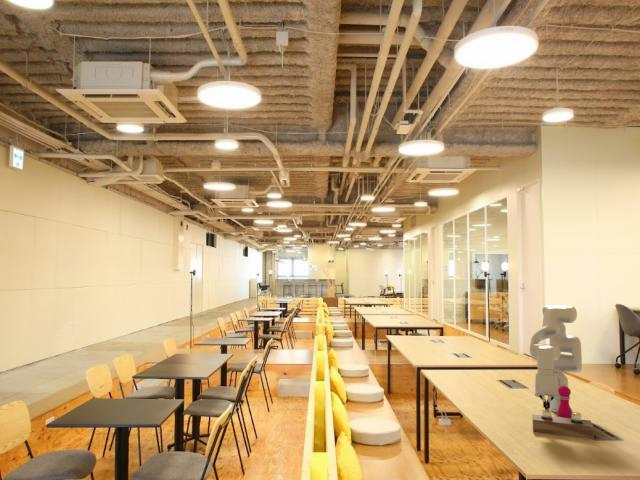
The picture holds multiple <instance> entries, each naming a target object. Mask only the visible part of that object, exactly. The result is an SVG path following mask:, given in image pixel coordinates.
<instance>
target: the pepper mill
mask: <svg viewBox="0 0 640 480" xmlns="http://www.w3.org/2000/svg"><path fill="white" fill-rule="evenodd" d="M558 393H559V394H560V395H559V396H560V397H559V398H560V406H559V408H558V411H557V412H556V414H557V417H562V418H572V412H573V409H572V408H571V406H570V399H571V394H572V392H571V389H570V387H569V386H568V387H566V384H565V383H563V384H562V386H561V387H559V389H558ZM571 409H572V410H571Z"/></svg>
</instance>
